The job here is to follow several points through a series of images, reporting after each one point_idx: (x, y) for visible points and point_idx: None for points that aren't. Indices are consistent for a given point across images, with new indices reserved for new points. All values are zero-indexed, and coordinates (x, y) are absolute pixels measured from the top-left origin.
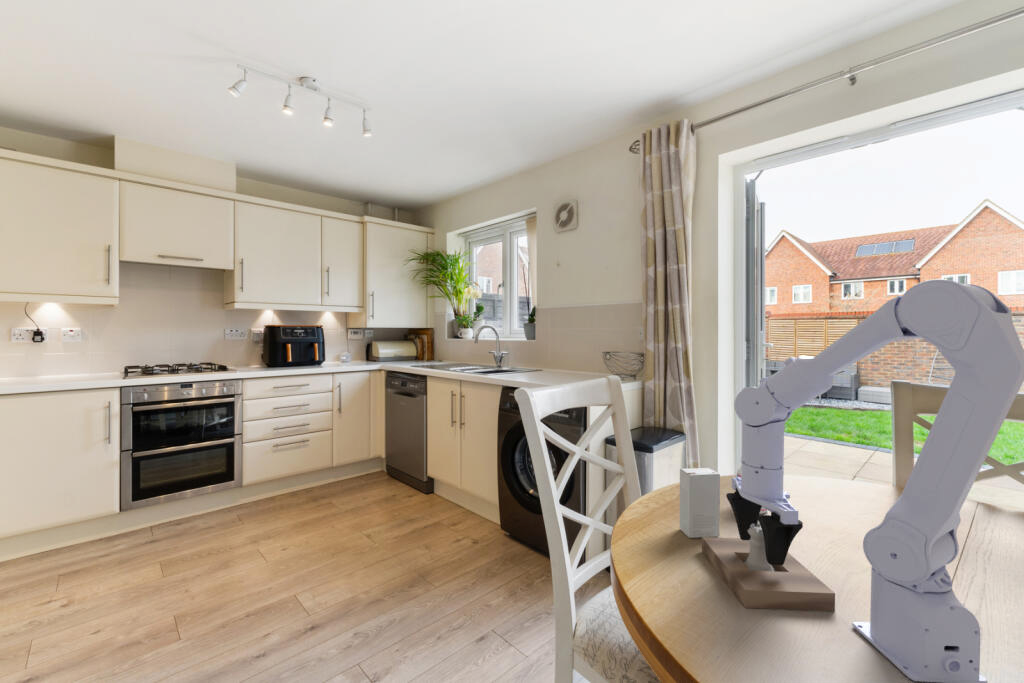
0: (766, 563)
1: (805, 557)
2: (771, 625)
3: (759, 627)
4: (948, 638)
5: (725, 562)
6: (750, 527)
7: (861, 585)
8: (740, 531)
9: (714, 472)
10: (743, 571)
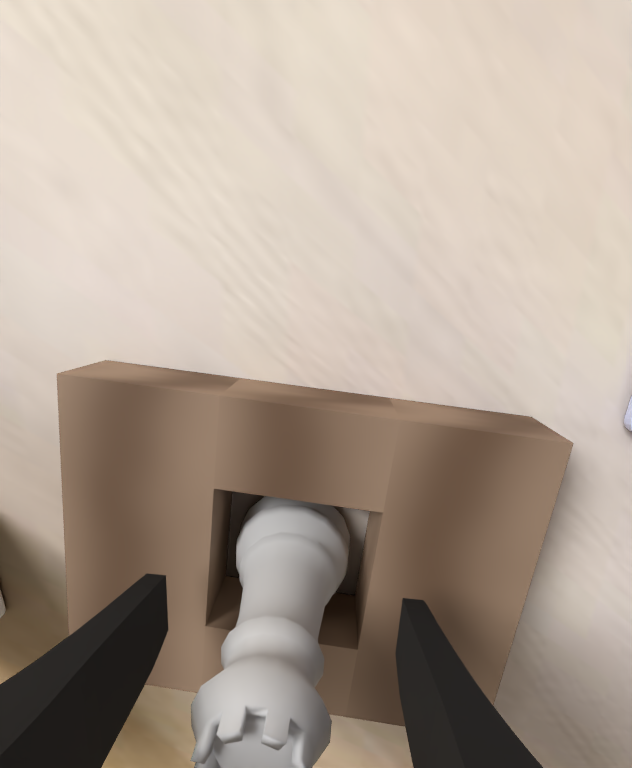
0: (329, 584)
1: (128, 222)
2: (553, 653)
3: (553, 687)
4: None
5: None
6: None
7: (379, 139)
8: (143, 684)
9: None
10: (361, 677)
